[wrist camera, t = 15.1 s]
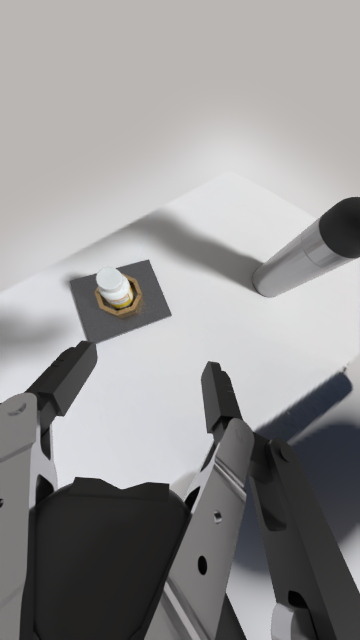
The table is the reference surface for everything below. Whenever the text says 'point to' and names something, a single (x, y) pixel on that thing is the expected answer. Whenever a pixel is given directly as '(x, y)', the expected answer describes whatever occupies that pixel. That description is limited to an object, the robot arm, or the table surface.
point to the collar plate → (113, 322)
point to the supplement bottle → (115, 288)
